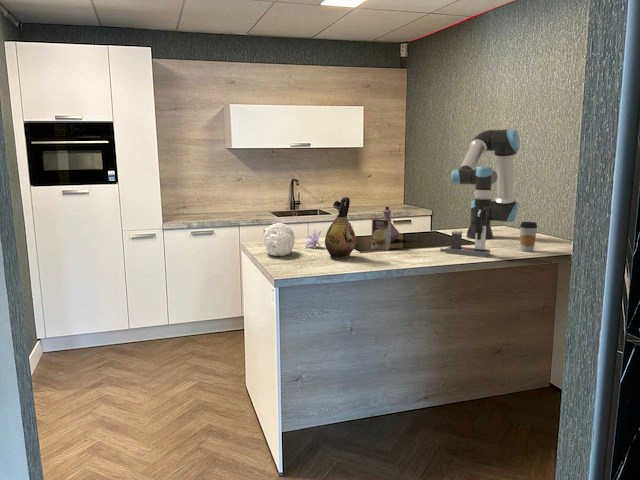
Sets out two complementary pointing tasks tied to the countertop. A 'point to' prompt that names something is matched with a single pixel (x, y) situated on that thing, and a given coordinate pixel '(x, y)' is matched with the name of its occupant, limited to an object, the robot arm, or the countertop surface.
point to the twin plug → (456, 240)
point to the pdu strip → (467, 251)
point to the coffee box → (381, 233)
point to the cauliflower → (279, 239)
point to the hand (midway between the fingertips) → (480, 245)
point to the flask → (393, 230)
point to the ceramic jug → (340, 233)
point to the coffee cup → (527, 236)
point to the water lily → (313, 239)
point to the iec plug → (482, 239)
